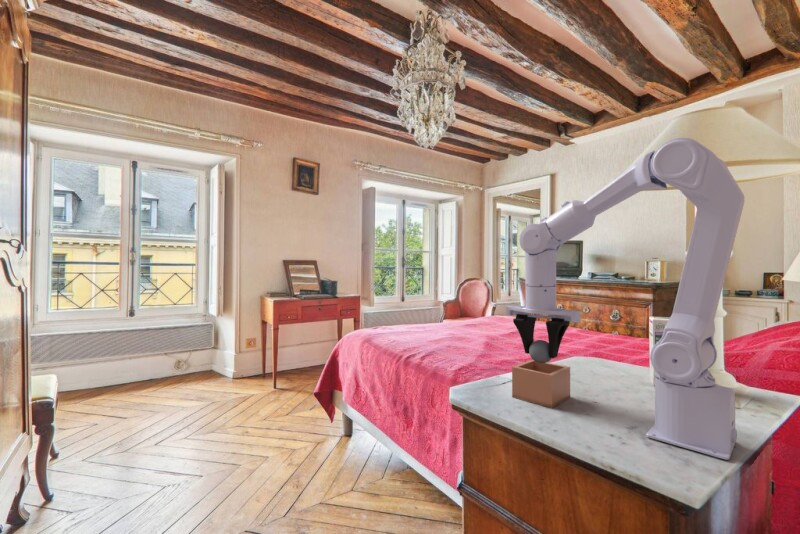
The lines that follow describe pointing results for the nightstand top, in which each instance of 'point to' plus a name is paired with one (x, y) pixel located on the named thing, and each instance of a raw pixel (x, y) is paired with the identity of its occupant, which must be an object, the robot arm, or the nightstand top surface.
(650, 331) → the syrup box
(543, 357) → the ball
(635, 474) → the nightstand top surface
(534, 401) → the open square bin
